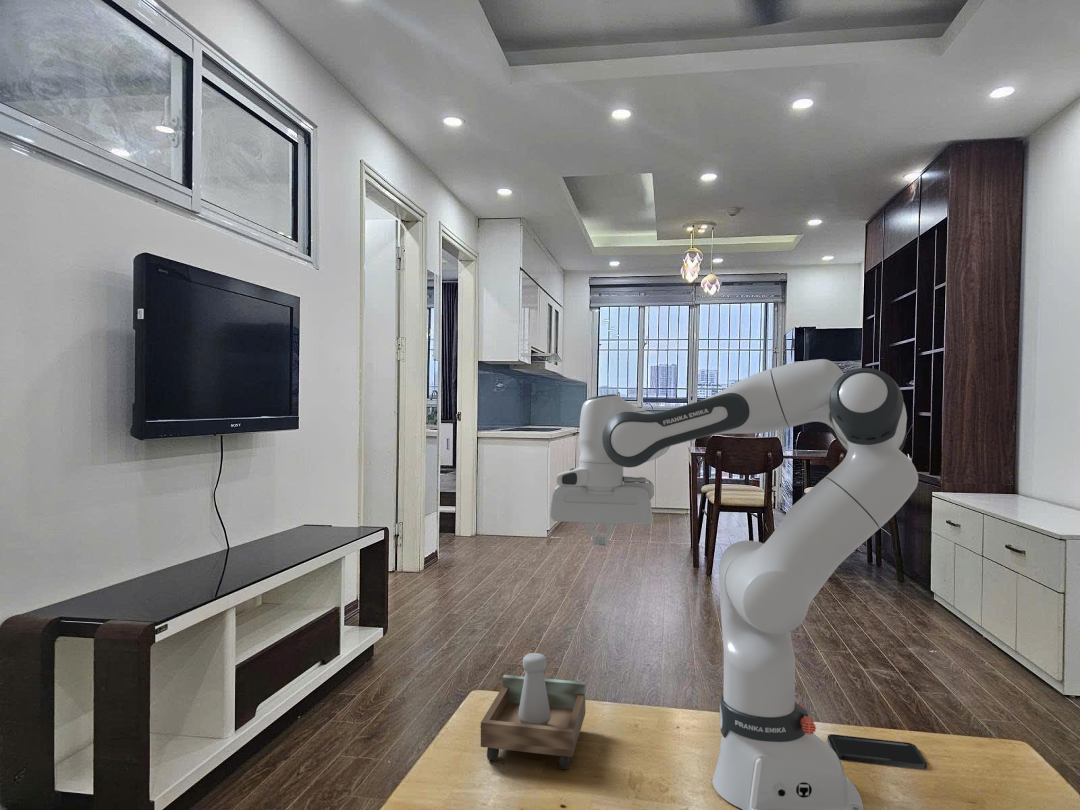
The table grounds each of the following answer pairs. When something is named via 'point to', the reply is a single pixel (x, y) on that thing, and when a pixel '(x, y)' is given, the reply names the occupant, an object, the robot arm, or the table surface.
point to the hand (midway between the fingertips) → (600, 545)
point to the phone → (877, 751)
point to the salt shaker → (534, 692)
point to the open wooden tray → (552, 739)
